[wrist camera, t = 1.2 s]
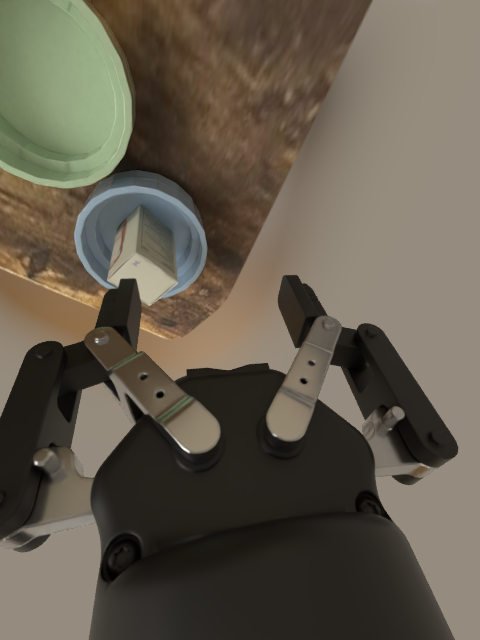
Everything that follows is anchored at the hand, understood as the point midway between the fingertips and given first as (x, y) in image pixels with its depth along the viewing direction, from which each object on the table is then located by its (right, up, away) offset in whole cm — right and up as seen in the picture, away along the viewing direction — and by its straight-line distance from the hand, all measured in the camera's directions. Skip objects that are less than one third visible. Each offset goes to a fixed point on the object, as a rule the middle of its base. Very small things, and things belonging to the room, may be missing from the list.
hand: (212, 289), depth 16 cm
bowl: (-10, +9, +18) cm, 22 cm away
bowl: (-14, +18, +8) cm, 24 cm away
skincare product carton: (-10, +9, +18) cm, 22 cm away
